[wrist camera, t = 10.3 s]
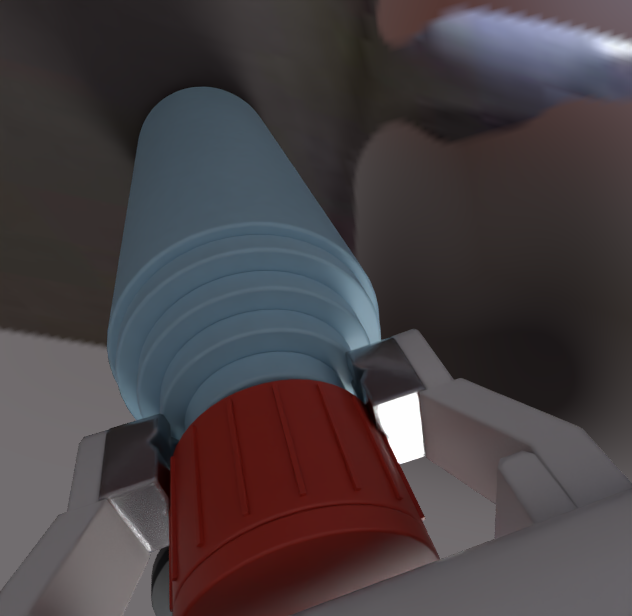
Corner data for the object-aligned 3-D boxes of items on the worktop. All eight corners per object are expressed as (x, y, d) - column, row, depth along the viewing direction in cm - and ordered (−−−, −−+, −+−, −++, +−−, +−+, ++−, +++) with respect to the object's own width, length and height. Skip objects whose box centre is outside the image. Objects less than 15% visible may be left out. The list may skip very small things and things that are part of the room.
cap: (132, 423, 8) (119, 603, 6) (361, 347, 8) (437, 490, 6) (210, 546, 10) (223, 712, 8) (387, 483, 11) (450, 624, 8)
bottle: (285, 198, 27) (498, 591, 10) (167, 233, 27) (173, 715, 9) (252, 70, 23) (507, 341, 6) (114, 107, 23) (-48, 528, 5)
